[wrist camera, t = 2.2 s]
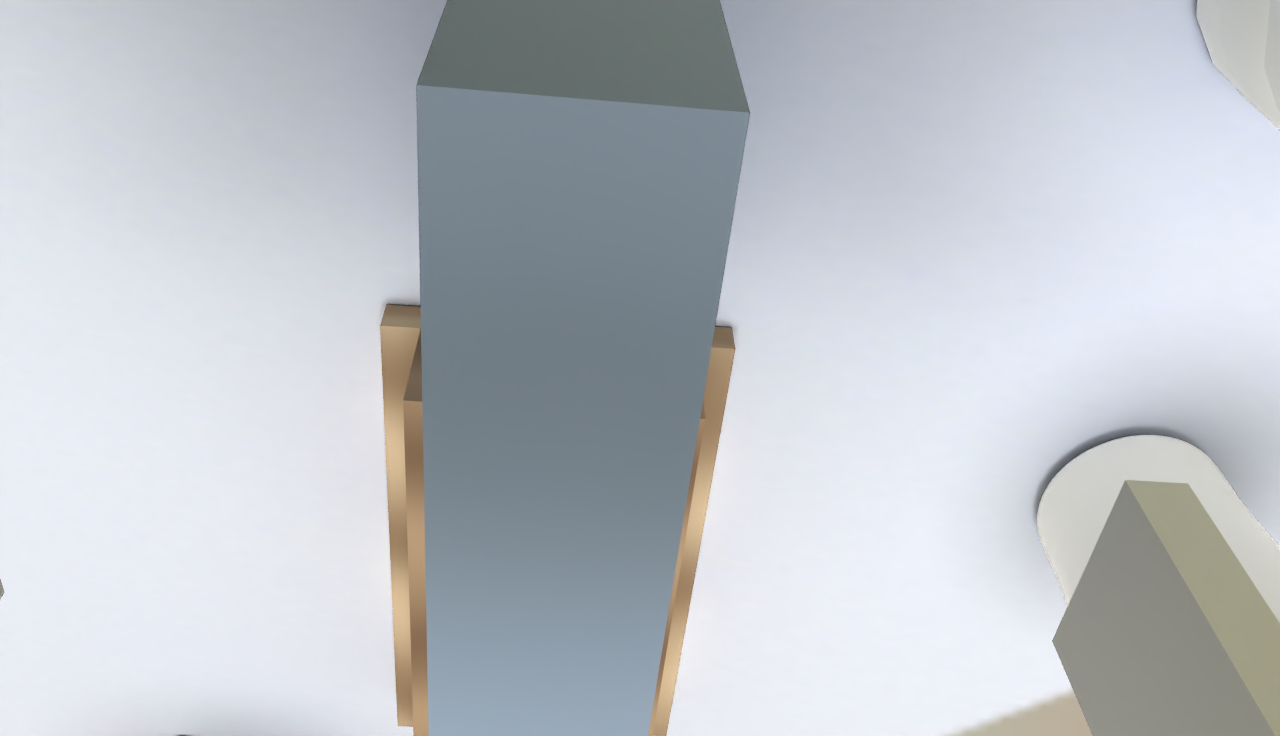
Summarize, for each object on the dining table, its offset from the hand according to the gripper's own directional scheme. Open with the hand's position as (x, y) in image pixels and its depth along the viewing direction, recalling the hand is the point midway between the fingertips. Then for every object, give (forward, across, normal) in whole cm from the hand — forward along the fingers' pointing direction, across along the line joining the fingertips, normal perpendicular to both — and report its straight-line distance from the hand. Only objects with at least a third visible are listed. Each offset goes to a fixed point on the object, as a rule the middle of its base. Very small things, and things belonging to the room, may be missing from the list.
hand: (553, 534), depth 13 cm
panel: (+15, 0, 0) cm, 15 cm away
